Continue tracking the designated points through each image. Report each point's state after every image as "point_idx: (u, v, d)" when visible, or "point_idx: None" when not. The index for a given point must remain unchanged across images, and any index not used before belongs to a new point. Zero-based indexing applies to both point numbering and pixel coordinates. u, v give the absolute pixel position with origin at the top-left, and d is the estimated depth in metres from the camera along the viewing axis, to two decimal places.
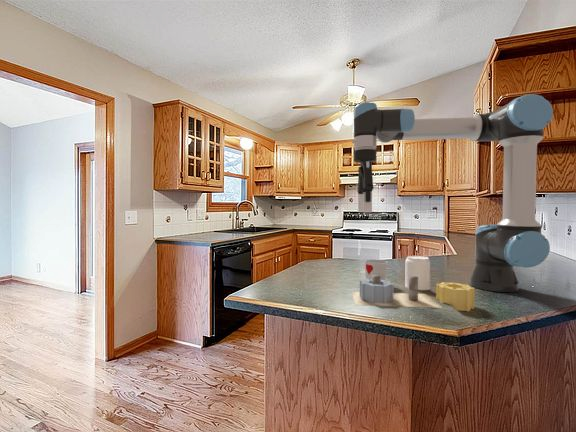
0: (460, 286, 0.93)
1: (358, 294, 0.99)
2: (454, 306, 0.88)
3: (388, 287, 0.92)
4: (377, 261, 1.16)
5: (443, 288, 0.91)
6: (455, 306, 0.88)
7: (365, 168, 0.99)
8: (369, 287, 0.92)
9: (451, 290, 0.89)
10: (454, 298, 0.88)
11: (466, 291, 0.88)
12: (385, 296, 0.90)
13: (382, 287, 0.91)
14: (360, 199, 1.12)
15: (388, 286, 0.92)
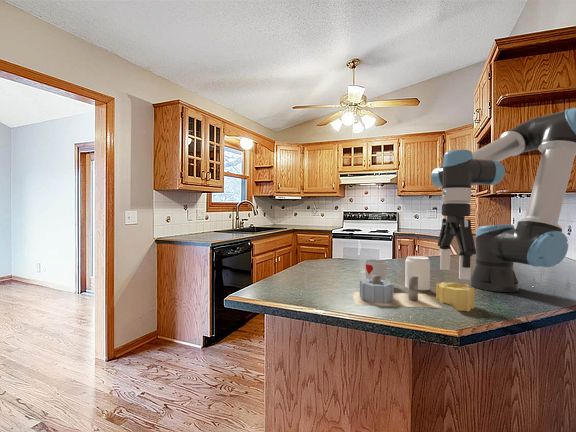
0: (460, 286, 0.93)
1: (358, 294, 0.99)
2: (454, 306, 0.88)
3: (388, 287, 0.92)
4: (377, 261, 1.16)
5: (443, 288, 0.91)
6: (455, 306, 0.88)
7: (463, 228, 0.85)
8: (369, 287, 0.92)
9: (451, 290, 0.89)
10: (454, 298, 0.88)
11: (466, 291, 0.88)
12: (385, 296, 0.90)
13: (382, 287, 0.91)
14: (444, 256, 0.99)
15: (388, 286, 0.92)
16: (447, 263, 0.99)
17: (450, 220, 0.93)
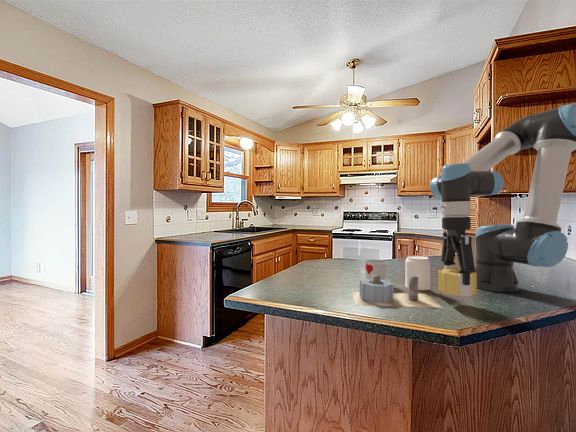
0: None
1: (358, 294, 0.99)
2: (457, 291, 0.88)
3: (388, 287, 0.92)
4: (377, 261, 1.16)
5: (445, 274, 0.91)
6: (458, 291, 0.88)
7: (464, 245, 0.86)
8: (369, 287, 0.92)
9: (453, 276, 0.89)
10: (456, 283, 0.88)
11: None
12: (385, 296, 0.90)
13: (382, 287, 0.91)
14: None
15: (388, 286, 0.92)
16: None
17: (450, 232, 0.93)
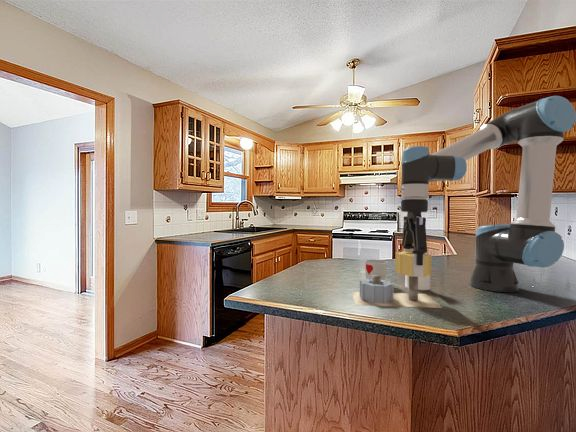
0: None
1: (358, 294, 0.99)
2: (410, 272, 0.89)
3: (388, 287, 0.92)
4: (377, 261, 1.16)
5: (401, 255, 0.92)
6: (411, 272, 0.89)
7: (418, 226, 0.87)
8: (369, 287, 0.92)
9: (408, 256, 0.90)
10: (410, 264, 0.89)
11: None
12: (385, 296, 0.90)
13: (382, 287, 0.91)
14: None
15: (388, 286, 0.92)
16: None
17: (409, 214, 0.94)
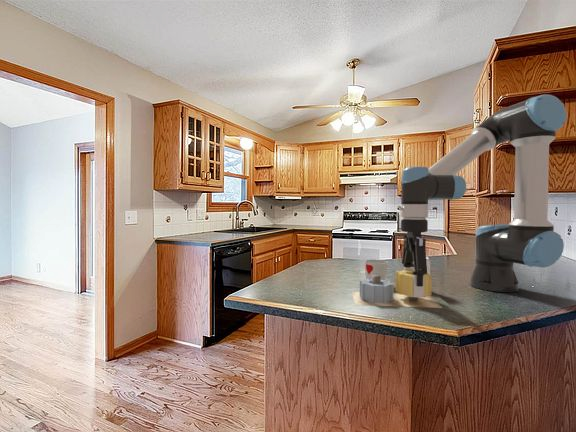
0: None
1: (358, 294, 0.99)
2: (410, 292, 0.89)
3: (388, 287, 0.92)
4: (377, 261, 1.16)
5: (401, 275, 0.92)
6: (411, 292, 0.89)
7: (418, 247, 0.87)
8: (369, 287, 0.92)
9: (408, 277, 0.90)
10: (410, 284, 0.89)
11: None
12: (385, 296, 0.90)
13: (382, 287, 0.91)
14: None
15: (388, 286, 0.92)
16: None
17: (409, 234, 0.94)
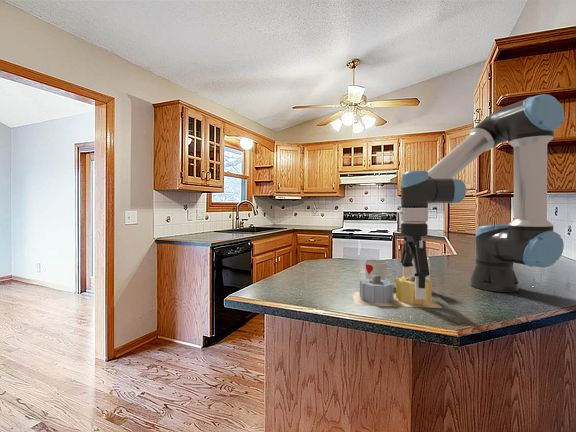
0: None
1: (358, 294, 0.99)
2: (411, 299, 0.89)
3: (388, 287, 0.92)
4: (377, 261, 1.16)
5: (401, 282, 0.92)
6: (412, 299, 0.89)
7: (418, 249, 0.86)
8: (369, 287, 0.92)
9: (408, 284, 0.90)
10: (411, 291, 0.89)
11: None
12: (385, 296, 0.90)
13: (382, 287, 0.91)
14: (406, 273, 1.00)
15: (388, 286, 0.92)
16: None
17: (409, 239, 0.94)
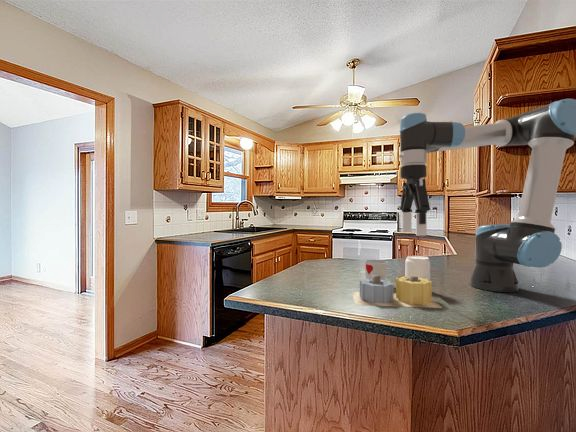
0: (419, 280, 0.95)
1: (358, 294, 0.99)
2: (411, 299, 0.89)
3: (388, 287, 0.92)
4: (377, 261, 1.16)
5: (401, 282, 0.92)
6: (412, 299, 0.89)
7: (418, 186, 0.89)
8: (369, 287, 0.92)
9: (408, 284, 0.90)
10: (411, 291, 0.89)
11: (422, 285, 0.89)
12: (385, 296, 0.90)
13: (382, 287, 0.91)
14: (405, 218, 1.03)
15: (388, 286, 0.92)
16: (409, 225, 1.03)
17: (408, 182, 0.97)
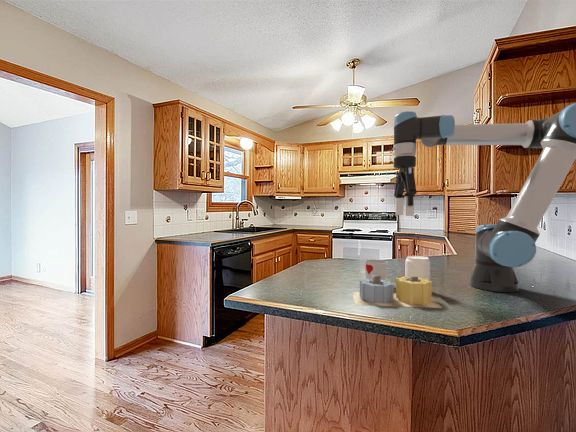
0: (419, 280, 0.95)
1: (358, 294, 0.99)
2: (411, 299, 0.89)
3: (388, 287, 0.92)
4: (377, 261, 1.16)
5: (401, 282, 0.92)
6: (412, 299, 0.89)
7: (407, 174, 1.05)
8: (369, 287, 0.92)
9: (408, 284, 0.90)
10: (411, 291, 0.89)
11: (422, 285, 0.89)
12: (385, 296, 0.90)
13: (382, 287, 0.91)
14: (398, 203, 1.18)
15: (388, 286, 0.92)
16: (401, 209, 1.18)
17: (400, 171, 1.12)
